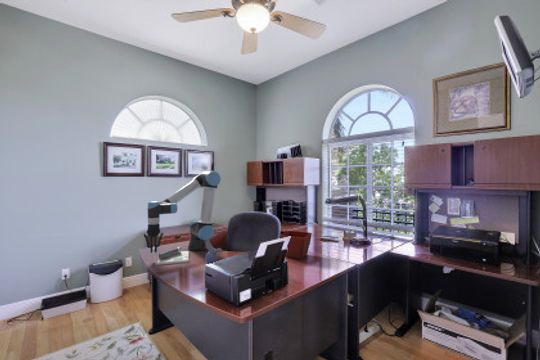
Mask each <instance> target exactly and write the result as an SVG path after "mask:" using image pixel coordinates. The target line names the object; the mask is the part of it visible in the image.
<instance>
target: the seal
mask: <svg viewBox="0 0 540 360" xmlns="http://www.w3.org/2000/svg"><path fill="white" fill-rule="evenodd" d="M218 234H219V233H216V234H215V233H214V234H213V236H211V237H209V239H208V240H206V247H207V248H206V249H207V250H208V252H206V254H205V256H204V259H205V261H206V262H207V263H209V264H212V263H211V262H214V263H216V261H217V260H218V253H223V250H222V248H221V247H217V248H215V247H213V245H212V244H211V241H210V240H211V239H212V238H213V237H215V236H217V235H218Z"/></svg>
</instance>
